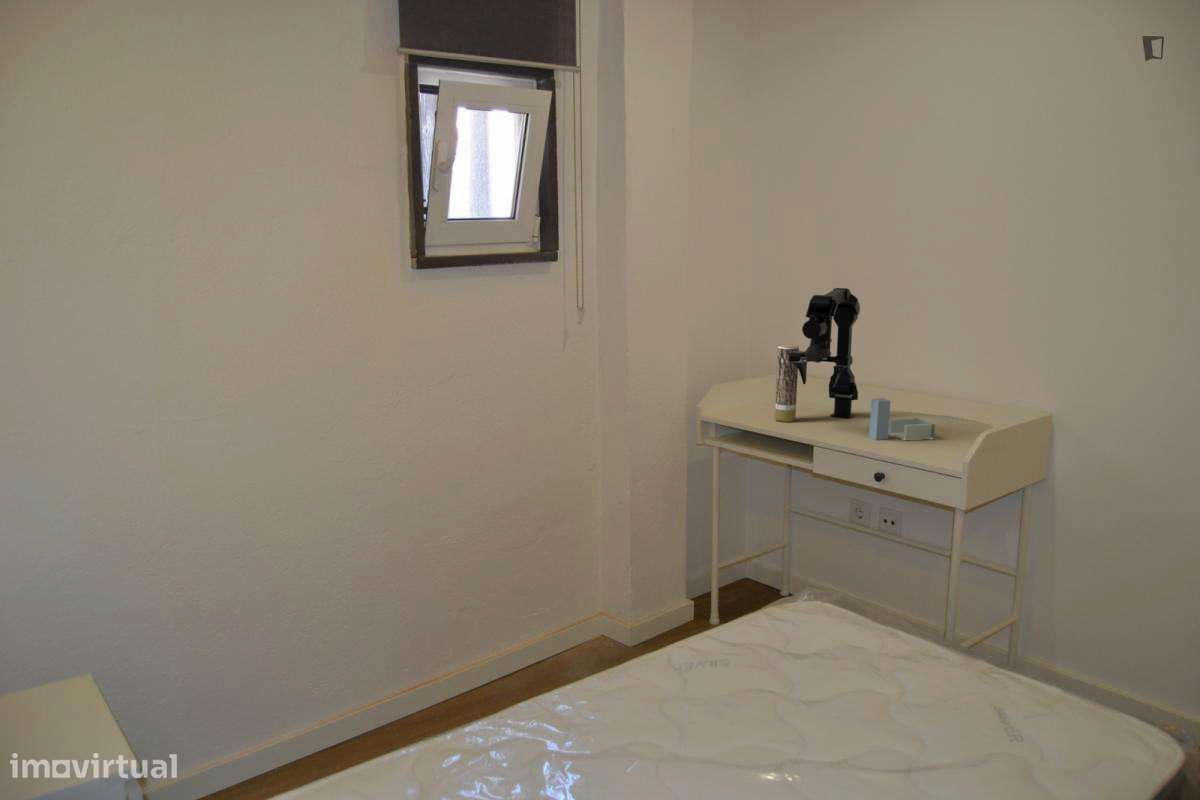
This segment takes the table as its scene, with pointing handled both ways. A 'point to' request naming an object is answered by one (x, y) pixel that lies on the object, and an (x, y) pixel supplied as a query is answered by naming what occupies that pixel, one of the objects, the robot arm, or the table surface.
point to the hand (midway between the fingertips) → (818, 385)
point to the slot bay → (911, 429)
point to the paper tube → (786, 385)
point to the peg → (879, 418)
